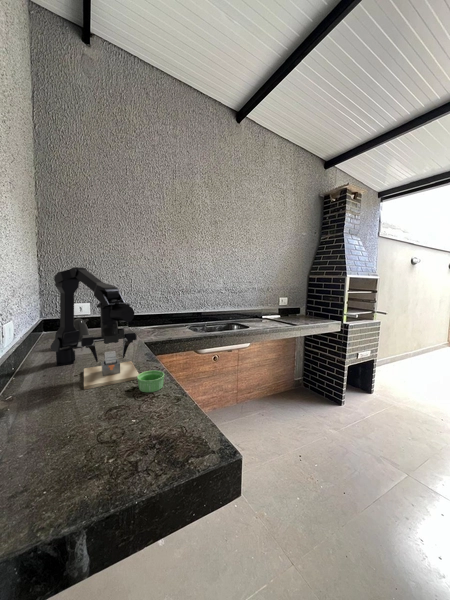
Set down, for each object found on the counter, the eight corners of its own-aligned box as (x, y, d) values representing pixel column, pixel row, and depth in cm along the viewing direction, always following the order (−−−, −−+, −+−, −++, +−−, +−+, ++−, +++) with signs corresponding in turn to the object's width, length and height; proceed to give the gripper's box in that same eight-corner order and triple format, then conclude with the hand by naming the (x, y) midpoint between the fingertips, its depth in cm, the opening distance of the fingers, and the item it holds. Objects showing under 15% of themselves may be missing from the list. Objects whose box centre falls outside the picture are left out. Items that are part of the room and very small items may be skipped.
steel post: (105, 374, 90) (105, 354, 89) (105, 370, 93) (104, 352, 92) (116, 372, 92) (116, 353, 91) (115, 369, 95) (114, 350, 94)
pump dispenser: (94, 345, 132) (93, 318, 131) (74, 350, 124) (72, 321, 122) (84, 342, 138) (83, 316, 136) (64, 346, 129) (63, 319, 128)
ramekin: (131, 390, 80) (131, 378, 80) (149, 380, 88) (149, 368, 88) (153, 395, 77) (153, 382, 76) (169, 384, 85) (169, 372, 85)
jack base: (84, 389, 80) (83, 375, 80) (84, 371, 96) (83, 359, 95) (139, 378, 89) (139, 365, 89) (131, 363, 105) (131, 352, 104)
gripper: (80, 325, 79) (82, 371, 80) (139, 321, 88) (139, 362, 90) (80, 320, 88) (82, 361, 90) (133, 316, 98) (134, 353, 99)
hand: (110, 359), depth 92 cm, fingers open, 9 cm apart
